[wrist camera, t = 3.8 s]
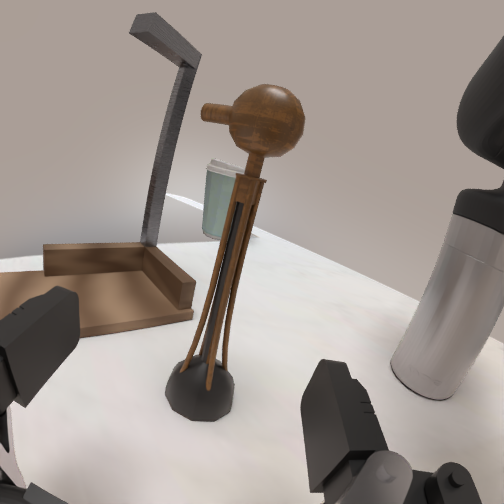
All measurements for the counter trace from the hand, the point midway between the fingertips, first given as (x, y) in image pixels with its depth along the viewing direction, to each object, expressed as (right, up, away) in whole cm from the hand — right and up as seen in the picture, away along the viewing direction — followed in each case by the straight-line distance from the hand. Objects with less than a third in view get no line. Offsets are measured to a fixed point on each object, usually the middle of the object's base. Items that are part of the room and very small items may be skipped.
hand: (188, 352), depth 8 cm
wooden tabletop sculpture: (-2, -7, +10) cm, 13 cm away
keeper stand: (-14, -2, +17) cm, 22 cm away
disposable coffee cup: (-5, +6, +51) cm, 51 cm away
